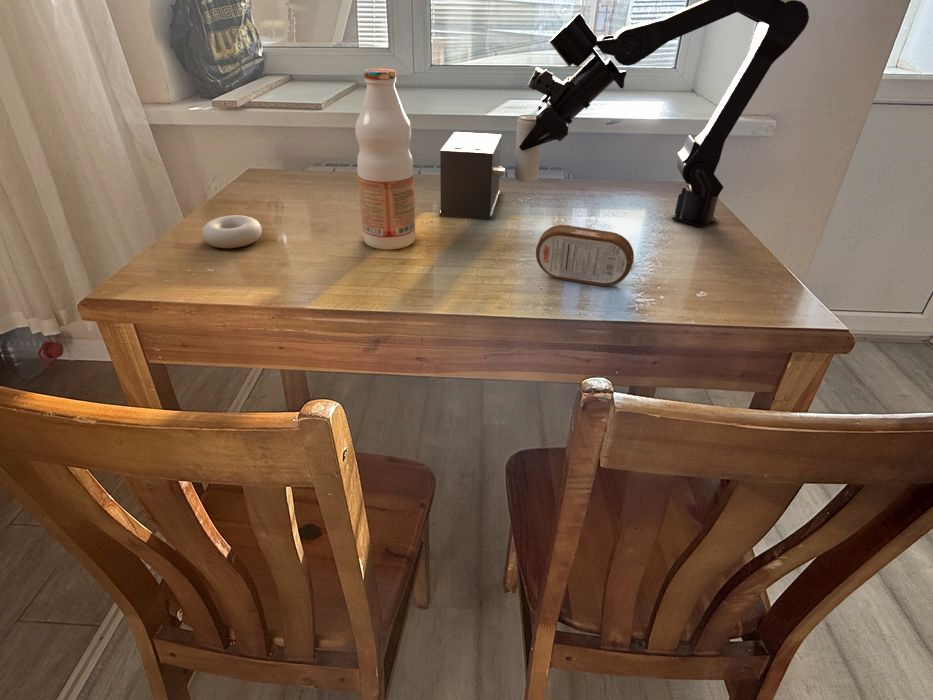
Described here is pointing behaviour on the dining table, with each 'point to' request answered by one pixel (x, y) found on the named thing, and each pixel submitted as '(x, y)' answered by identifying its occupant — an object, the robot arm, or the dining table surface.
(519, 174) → the beverage can
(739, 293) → the dining table surface
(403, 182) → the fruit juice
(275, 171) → the dining table surface
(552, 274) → the tin
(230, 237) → the donut
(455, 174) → the toaster
